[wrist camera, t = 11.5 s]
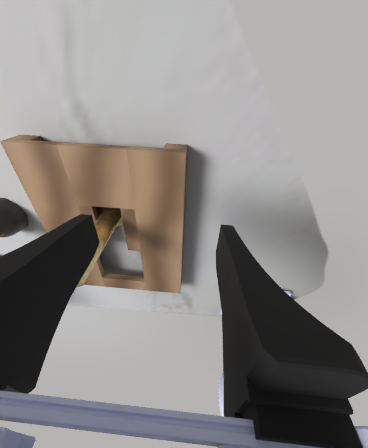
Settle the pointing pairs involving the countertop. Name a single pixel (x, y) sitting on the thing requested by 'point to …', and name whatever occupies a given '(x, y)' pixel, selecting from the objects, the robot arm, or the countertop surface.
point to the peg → (103, 233)
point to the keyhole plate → (112, 199)
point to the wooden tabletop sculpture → (11, 218)
